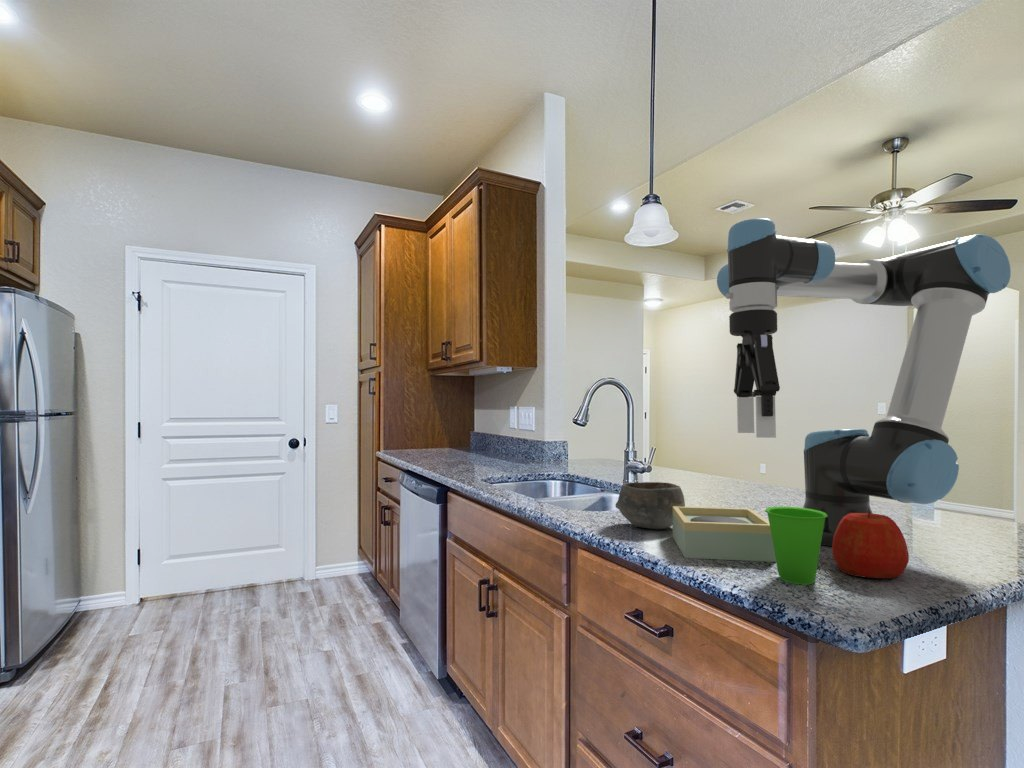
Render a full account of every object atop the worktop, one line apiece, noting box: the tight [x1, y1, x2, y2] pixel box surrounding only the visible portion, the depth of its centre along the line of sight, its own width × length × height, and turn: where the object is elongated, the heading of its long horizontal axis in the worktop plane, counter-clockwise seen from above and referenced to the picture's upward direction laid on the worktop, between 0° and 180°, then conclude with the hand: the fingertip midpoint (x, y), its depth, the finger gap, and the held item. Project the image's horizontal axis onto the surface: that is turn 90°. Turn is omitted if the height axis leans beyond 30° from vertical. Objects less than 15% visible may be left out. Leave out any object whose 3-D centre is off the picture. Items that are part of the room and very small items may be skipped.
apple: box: [831, 511, 910, 579], centre depth 90 cm, size 11×11×11 cm
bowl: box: [615, 481, 686, 530], centre depth 124 cm, size 14×15×10 cm
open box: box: [672, 506, 777, 563], centre depth 106 cm, size 16×16×6 cm
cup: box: [764, 506, 828, 586], centre depth 87 cm, size 9×9×11 cm
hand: (755, 435), depth 92 cm, fingers open, 13 cm apart
